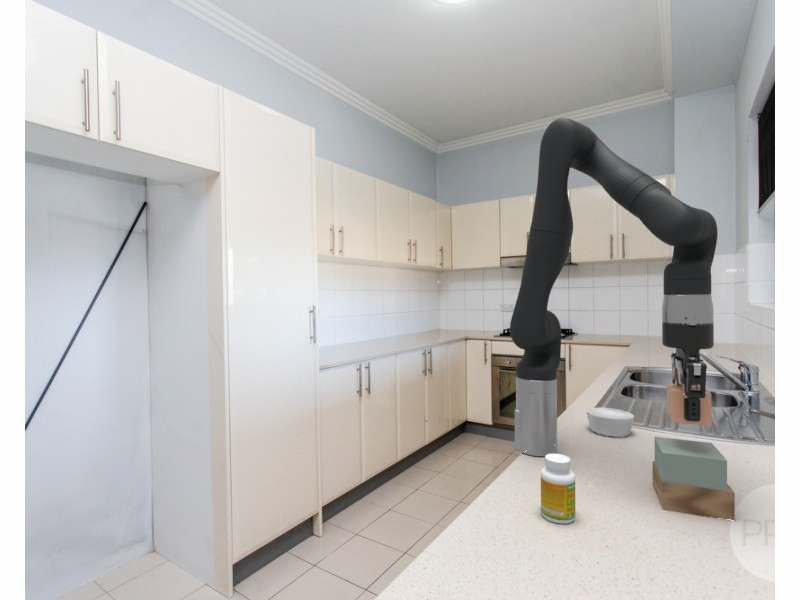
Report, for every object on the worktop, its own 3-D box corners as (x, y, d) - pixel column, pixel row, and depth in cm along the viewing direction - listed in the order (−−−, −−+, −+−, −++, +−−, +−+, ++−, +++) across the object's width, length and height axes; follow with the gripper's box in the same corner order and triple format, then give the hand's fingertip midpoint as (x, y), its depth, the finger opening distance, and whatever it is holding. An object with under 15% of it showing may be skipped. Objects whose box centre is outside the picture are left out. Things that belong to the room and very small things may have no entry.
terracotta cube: (673, 422, 73) (673, 390, 73) (667, 414, 78) (667, 384, 78) (711, 426, 71) (711, 393, 71) (702, 417, 76) (702, 386, 76)
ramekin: (638, 431, 113) (638, 412, 113) (627, 442, 105) (627, 421, 105) (594, 423, 121) (594, 404, 121) (581, 433, 112) (581, 413, 112)
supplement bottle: (572, 528, 66) (572, 466, 66) (537, 518, 69) (537, 459, 69) (578, 513, 71) (577, 455, 71) (545, 504, 74) (544, 449, 74)
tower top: (662, 481, 72) (662, 452, 72) (654, 462, 80) (654, 436, 80) (727, 491, 68) (727, 460, 68) (711, 470, 77) (711, 442, 77)
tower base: (662, 511, 72) (662, 482, 72) (652, 487, 81) (652, 461, 81) (734, 523, 68) (734, 492, 68) (715, 496, 77) (715, 469, 77)
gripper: (655, 318, 83) (656, 404, 83) (670, 322, 69) (671, 425, 69) (701, 318, 80) (702, 408, 80) (726, 323, 66) (727, 430, 67)
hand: (687, 415), depth 75 cm, fingers closed on terracotta cube, 5 cm apart
